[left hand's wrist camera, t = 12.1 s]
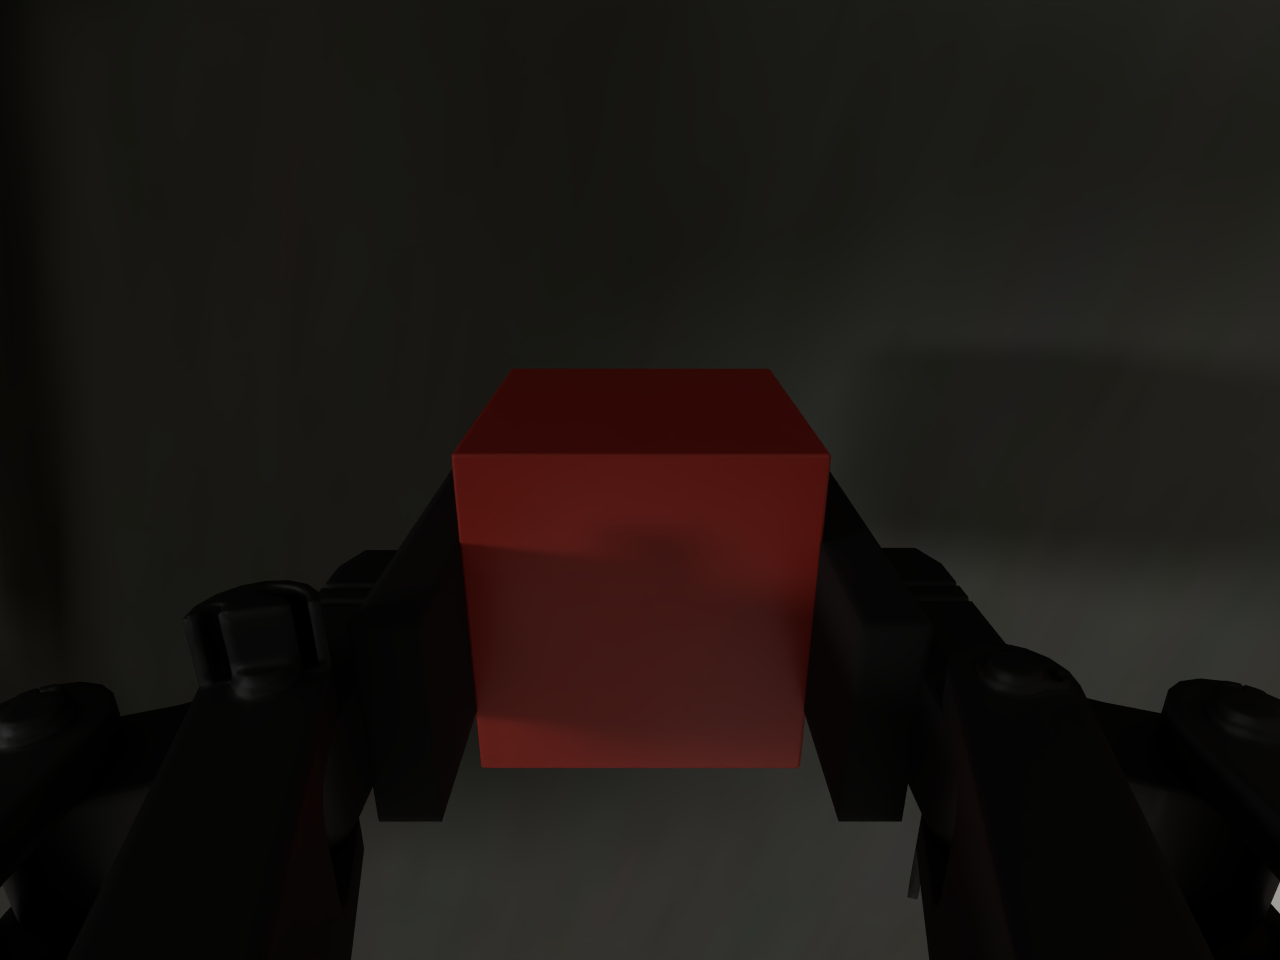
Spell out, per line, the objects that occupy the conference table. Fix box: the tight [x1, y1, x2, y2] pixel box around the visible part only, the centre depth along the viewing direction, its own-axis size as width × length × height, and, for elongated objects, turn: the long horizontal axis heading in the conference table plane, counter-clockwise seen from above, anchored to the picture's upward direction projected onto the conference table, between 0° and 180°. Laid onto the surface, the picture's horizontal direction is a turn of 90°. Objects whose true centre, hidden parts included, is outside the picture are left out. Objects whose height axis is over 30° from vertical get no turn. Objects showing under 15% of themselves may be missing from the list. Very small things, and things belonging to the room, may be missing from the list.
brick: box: [451, 369, 831, 768], centre depth 12 cm, size 5×5×5 cm
